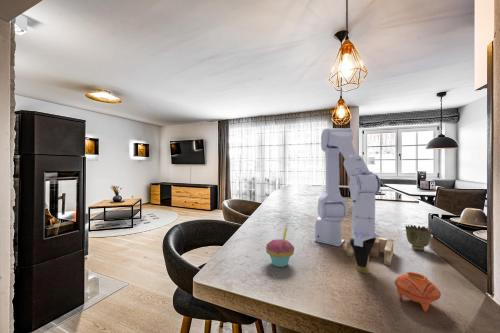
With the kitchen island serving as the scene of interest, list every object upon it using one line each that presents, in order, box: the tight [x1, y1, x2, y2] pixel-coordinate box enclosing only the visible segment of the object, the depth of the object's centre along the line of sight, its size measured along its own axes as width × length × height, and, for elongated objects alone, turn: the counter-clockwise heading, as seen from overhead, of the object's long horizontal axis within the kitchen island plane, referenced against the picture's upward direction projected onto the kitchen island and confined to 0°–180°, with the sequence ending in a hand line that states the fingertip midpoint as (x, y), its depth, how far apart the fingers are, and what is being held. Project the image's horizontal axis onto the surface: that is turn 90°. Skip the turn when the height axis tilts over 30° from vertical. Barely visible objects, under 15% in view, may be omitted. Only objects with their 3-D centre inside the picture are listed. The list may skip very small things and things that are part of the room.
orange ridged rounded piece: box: [394, 271, 441, 313], centre depth 47 cm, size 8×8×7 cm
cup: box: [405, 224, 433, 252], centre depth 77 cm, size 8×7×8 cm
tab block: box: [356, 238, 381, 275], centre depth 68 cm, size 5×19×6 cm, turn 143°
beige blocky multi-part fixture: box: [346, 235, 394, 267], centre depth 73 cm, size 12×12×4 cm
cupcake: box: [265, 224, 295, 268], centre depth 65 cm, size 9×8×12 cm
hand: (362, 263), depth 61 cm, fingers closed on tab block, 3 cm apart
